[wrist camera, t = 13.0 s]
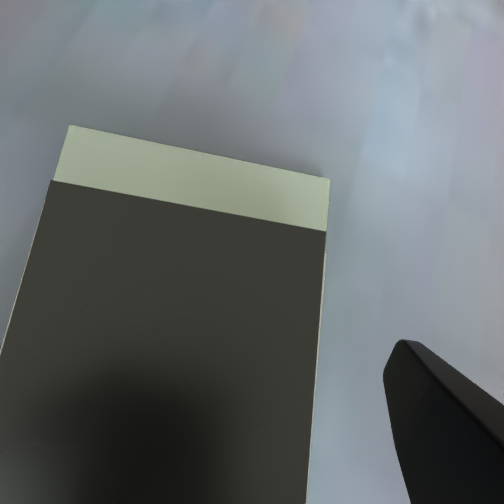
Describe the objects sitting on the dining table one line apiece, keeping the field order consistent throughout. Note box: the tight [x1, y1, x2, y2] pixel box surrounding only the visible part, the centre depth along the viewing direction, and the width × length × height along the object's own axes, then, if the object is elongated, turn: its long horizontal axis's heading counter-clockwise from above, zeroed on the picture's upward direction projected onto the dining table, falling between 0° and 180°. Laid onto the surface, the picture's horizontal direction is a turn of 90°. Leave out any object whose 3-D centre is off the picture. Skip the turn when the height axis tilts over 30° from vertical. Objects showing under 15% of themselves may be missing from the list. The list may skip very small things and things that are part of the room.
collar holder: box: [0, 124, 331, 504], centre depth 15 cm, size 18×11×3 cm, turn 173°
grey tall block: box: [0, 180, 326, 504], centre depth 11 cm, size 4×4×10 cm
